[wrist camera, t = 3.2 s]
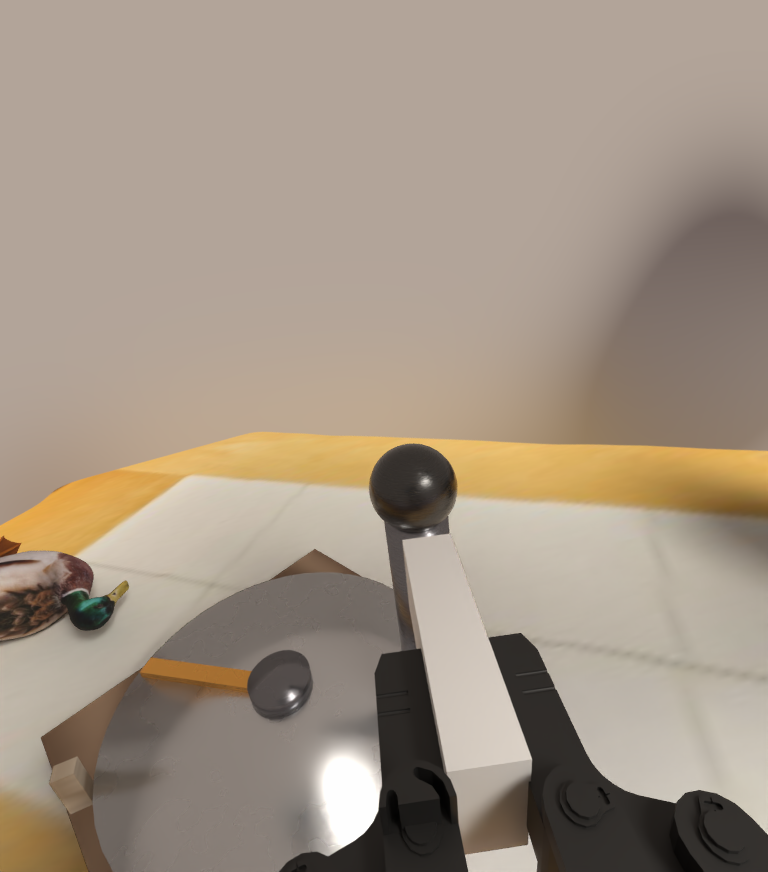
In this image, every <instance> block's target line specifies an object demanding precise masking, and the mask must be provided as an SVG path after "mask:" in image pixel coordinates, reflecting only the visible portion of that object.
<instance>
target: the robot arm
mask: <svg viewBox="0 0 768 872" xmlns="http://www.w3.org/2000/svg"><path fill="white" fill-rule="evenodd" d="M402 542H403V552H404V561H405V571H406V580H407V590H408V600H409V608H410V614H411V620H412V626H413V631H414V637H415V643H416V648H417V649H413V650H406V651H399V652H392V653H385V654H381V657H380V659H379V662H378V665H377V668H376V671H375V673H374V674H375V689H376V704H377V716H378V733H379V748H380V762H381V777H382V788H381V790H380V797H379V807H378V809H379V810H378V812H377V814H376V816H375V818H374V820H373V822H372V824H371V825H370V826H369V827H368V829H367V830H366V831H365V832H364V833H363V834H362V835H361V836H359V837H358V838H357V839H356V840H354V841H353V842H351V843H349V844H348V845H346V846H344V847H343V848H341V849H339V850H338V851H336V852H334V853H333V854H331V855H330V856H326V855H324V854H322V853H319V852H307V853H301V854H300V855H298V856H296V857H294V858H293V859H291V860H289V861H288V862H287V863H286V864H285V865H284V866H283V867H282V869H281V870H280V871H279V872H468V868H467V863H466V858H465V854H471V853H478V852H484V851H490V850H497V849H503V848H510V847H516V846H522V845H528V832H529V835H530V839H531V842H532V845H533V848H534V852H535V855H536V858H537V861H538V863H537V872H768V835H767V834H766V833H765V831H764V830H763V829H762V828H761V827H760V826H759V825H758V824H757V823H756V822H755V821H754V820H753V819H752V818H751V817H750V816H749V815H748V814H747V813H745V812H744V811H743V810H742V809H741V808H740V807H739V806H737V805H736V804H735V803H733V802H731V801H729V800H728V799H726V798H724V797H722V796H720V795H718V794H716V793H711V792H706V791H701V790H697V791H693V792H688V793H685V794H684V795H683V796H682V797H681V798H680V799H679V800H678V801H677V803H672V802H667V801H662V800H658V799H653V798H649V797H644V796H639V795H636V794H633V793H630V792H627V791H625V790H623V789H621V788H619V787H618V786H616V785H614V784H612V783H611V782H610V781H609V780H608V779H606V778H605V777H604V776H603V775H602V774H601V773H600V772H599V771H598V770H597V769H596V768H595V766H594V765H593V764H592V762H591V761H590V759H589V757H588V756H587V754H586V752H585V750H584V747H583V745H582V743H581V741H580V739H579V737H578V735H577V733H576V730H575V728H574V726H573V724H572V722H571V720H570V718H569V716H568V713H567V711H566V709H565V707H564V705H563V703H562V701H561V699H560V696H559V694H558V692H557V690H555V686H554V684H553V682H552V679H551V677H550V675H549V673H547V669H546V667H545V665H544V662H543V660H542V658H541V656H540V654H539V652H538V650H537V648H536V647H535V646H534V645H533V644H532V643H531V642H530V641H529V640H528V639H527V638H526V637H525V636H523V635H522V634H521V633H518V634H510V635H503V636H496V637H489V638H488V636H487V633H486V630H485V627H484V624H483V622H482V619H481V616H480V613H479V611H478V608H477V605H476V602H475V600H474V597H473V594H472V591H471V588H470V586H469V583H468V580H467V577H466V575H465V572H464V569H463V566H462V563H461V561H460V558H459V555H458V552H457V550H456V547H455V544H454V541H453V539H452V536H451V534H443V535H436V536H428V537H421V538H413V539H406V540H402Z"/></svg>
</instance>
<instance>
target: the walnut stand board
mask: <svg viewBox="0 0 768 872" xmlns="http://www.w3.org/2000/svg"><path fill="white" fill-rule="evenodd" d="M316 572H332V573H343V574H351V575H355V576H360V575H358V574H356V573H355V572H353V571H351V570H350V569H348V568H346V567H344V566H343V565H341V564H339V563H338V562H336V561H334V560H333V559H331V558H329V557H328V556H326V555H324V554H322V553H321V552H319V551H317V550H316V549H314V550H313V551H311V552H310V553H308V554H307V555H306V556H304V557H303V558H301V559H300V560H298V561H297V562H295V563H294V564H292V565H291V566H290V567H288V568H287V569H285V570H284V571H282V572H281V573H279V574H278V575H276V576H275V577H274V578H272V579H271V580H273V579H277V578H281V577H285V576H290V575H296V574H303V573H316ZM360 577H361V576H360ZM141 669H142V668H141ZM141 669H140V670H138V671H137V672H135V673H134V674H132V675H131V676H130V677H128V678H127V679H125V680H124V681H122V682H121V683H119V684H118V685H116V686H115V687H114V688H112V689H111V690H109V691H108V692H106V693H105V694H103V695H102V696H100V697H99V698H98V699H96V700H95V701H93V702H92V703H90V704H89V705H87V706H86V707H84V708H83V709H82V710H80V711H79V712H77V713H76V714H74V715H73V716H71V717H70V718H68V719H67V720H66V721H64V722H63V723H61V724H60V725H58V726H57V727H55V728H54V729H52V730H51V731H50V732H48V733H47V734H45V735H44V736H42V737H41V740H42V743H43V745H44V748H45V751H46V754H47V756H48V759H49V762H50V765H51V768H52V774H51V778H50V782H49V785H50V786H51V787H52V789H53V790H54V792H55V793H56V794H57V796H58V797H59V799H60V800H61V802H62V803H63V804H64V806H65V807H66V809H67V812H68V815H69V818H70V821H71V823H72V826H73V829H74V832H75V835H76V837H77V840H78V843H79V846H80V849H81V851H82V854H83V857H84V860H85V863H86V865H87V868H88V871H89V872H113V871H112V869H111V867H110V865H109V863H108V861H107V859H106V857H105V855H104V854H103V852H102V849H101V846H100V842H99V839H98V835H97V832H96V828H95V823H94V812H93V802H92V800H93V784H94V774H95V769H96V764H97V759H98V754H99V750H100V747H101V744H102V741H103V738H104V735H105V732H106V729H107V727H108V725H109V723H110V721H111V719H112V716H113V714H114V712H115V710H116V708H117V706H118V704H119V703H120V701H121V699H122V698H123V696H124V694H125V692H126V691H127V689H128V687H129V686H130V685H131V683H132V682H133V680H134V679H135V678H136V676H137V675H138V673H139V672H140V671H141Z"/></svg>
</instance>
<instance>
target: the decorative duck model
mask: <svg viewBox="0 0 768 872" xmlns="http://www.w3.org/2000/svg"><path fill="white" fill-rule="evenodd" d="M20 544H21V543H15V542H11V541H9V540H7V539H5V538H4V536H3V537H2V538H1V539H0V641H1V640H7V639H14V638H19V637H24V636H28V635H31V634H33V633H36V632H38V631H40V630H42V629H44V628H46V627H47V626H49V625H51V624H52V623H53V622H55V621H56V620H57V619H59V618H60V617H61V616H62V615H63V614H65V613H66V612H67V611H68V612H69V616H70V619H71V622H72V623H73V624H74V625H75V626H76V627H77V628H79V629H81V630H85V631H86V630H95V629H98V628H100V627H101V626H103V625H104V624H105V623H106V622H107V621H108V620H109V619H110V617H111V615H112V613H113V610H114V606H115V604H116V602H117V600H118V599H119V598H120V597H121V596H122V595H123V594H124V593H125V592H126V591H127V590H128V589H129V585H128V582H127V581H124V582H122V583H121V584H120V585H119V586H118V587H117V588H115V589H114V590H113V591H112V592H111V593H110V594H108V595H105V596H103V597H96V598H91V599H89V595H90V591H91V587H92V583H93V572H92V569H91V568H90V566H89V565H88V564H87V563H86V562H84V561H82V560H81V559H79V558H76V557H74V556H71V555H68V554H65V553H61V552H56V551H28V552H22V553H18V554H16V553H17V551H18V549H19V547H20Z"/></svg>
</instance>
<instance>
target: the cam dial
mask: <svg viewBox="0 0 768 872" xmlns="http://www.w3.org/2000/svg"><path fill="white" fill-rule="evenodd" d="M369 493H370V498H371V502H372V504H373V507H374V509H375V510H376V512H377V514H378V515H379V516H380V517H381V518H382V519H383V520H384V522H385V530H386V537H387V545H388V552H389V559H390V567H391V574H392V582H393V589H394V590H393V589H391V588H389V587H387V586H385V585H383V584H381V583H379V582H376V581H373V580H370V579H368V578H364V577H360V576H355V575H351V574H343V573H332V572H316V573H303V574H296V575H290V576H285V577H281V578H277V579H273V580H269V581H266V582H263V583H260V584H257V585H254V586H252V587H249V588H247V589H245V590H242V591H240V592H238V593H236V594H234V595H232V596H230V597H228V598H226V599H224V600H222V601H220V602H218V603H217V604H215V605H214V606H212V607H210V608H209V609H207V610H205V611H204V612H202V613H201V614H200V615H198V616H197V617H196V618H194V619H193V620H191V621H190V622H189V623H187V624H186V625H185V626H184V627H183V628H181V629H180V630H179V631H178V632H177V633H175V634H174V635H173V636H172V637H171V638H170V639H169V640H168V641H167V642H166V643H165V644H164V645H163V646H162V647H161V648H160V649H159V650H158V651H157V652H156V653H155V654H154V655H153V656H152V657H151V658H150V660H149V661H148V662H147V663H146V664H145V666H144V667H143V668H142V669H141V671H140V672H139V673H138V675H137V676H136V678H135V679H134V680H133V682H132V683H131V685H130V686H129V687H128V689H127V691H126V692H125V694H124V696H123V698H122V699H121V701H120V703H119V704H118V706H117V708H116V710H115V712H114V714H113V716H112V719H111V721H110V723H109V725H108V727H107V729H106V732H105V735H104V738H103V741H102V744H101V747H100V750H99V754H98V759H97V764H96V769H95V774H94V784H93V800H92V802H93V812H94V823H95V828H96V832H97V835H98V839H99V842H100V846H101V849H102V852H103V854H104V855H105V857H106V859H107V861H108V863H109V865H110V867H111V869H112V871H113V872H279V871H280V870H281V869H282V867H283V866H284V865H285V864H286V863H287V862H288V861H289V860H291V859H293V858H294V857H296V856H298V855H300V854H301V853H307V852H319V853H322V854H324V855H326V856H330V855H331V854H333V853H334V852H336V851H338V850H339V849H341V848H343V847H344V846H346V845H348V844H349V843H351V842H353V841H354V840H356V839H357V838H358V837H359V836H361V835H362V834H363V833H364V832H365V831H366V830H367V829H368V827H369V826H370V825H371V824H372V822H373V820H374V818H375V816H376V814H377V812H378V810H379V809H378V807H379V797H380V790H381V788H382V777H381V762H380V748H379V733H378V716H377V704H376V689H375V674H374V673H375V671H376V668H377V665H378V662H379V659H380V657H381V654H385V653H392V652H399V651H406V650H413V649H417V648H416V643H415V637H414V631H413V626H412V620H411V614H410V608H409V600H408V590H407V580H406V571H405V561H404V552H403V542H402V540H406V539H413V538H421V537H428V536H436V535H443V534H449V523H448V515H449V513H450V512H451V510H452V508H453V506H454V504H455V501H456V497H457V480H456V476H455V472H454V470H453V468H452V466H451V465H450V463H449V462H448V460H447V459H446V458H445V457H444V456H443V455H442V454H441V453H439V452H438V451H437V450H435V449H433V448H431V447H428V446H425V445H422V444H405V445H400V446H397V447H395V448H393V449H391V450H389V451H388V452H387V453H385V454H384V455H383V456H382V457H381V458H380V459H379V460H378V462H377V463H376V465H375V467H374V468H373V471H372V474H371V477H370V483H369Z"/></svg>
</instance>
